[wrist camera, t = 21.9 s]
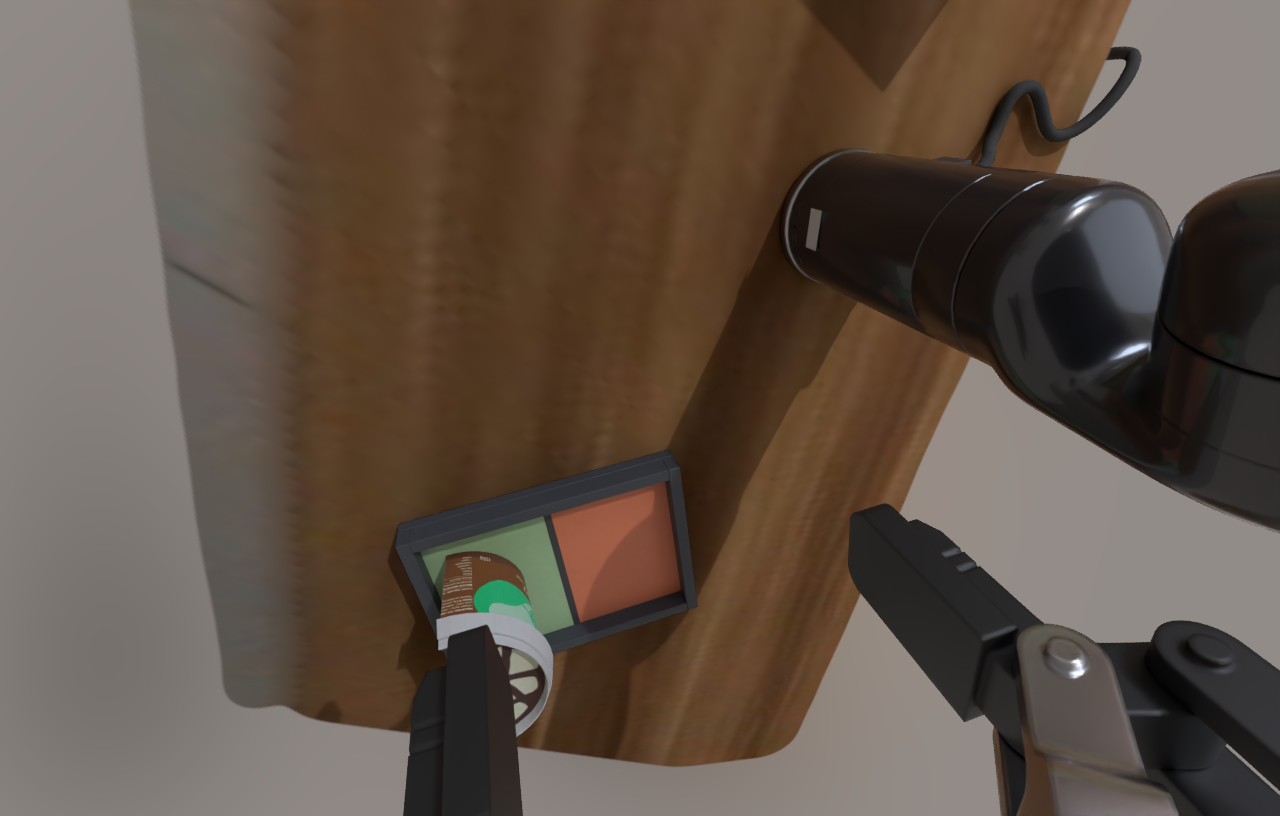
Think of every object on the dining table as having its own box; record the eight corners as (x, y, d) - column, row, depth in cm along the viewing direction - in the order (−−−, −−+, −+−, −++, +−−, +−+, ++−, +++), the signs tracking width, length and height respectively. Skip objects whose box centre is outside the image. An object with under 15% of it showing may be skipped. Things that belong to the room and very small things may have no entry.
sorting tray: (669, 449, 48) (680, 466, 46) (687, 585, 56) (697, 607, 54) (398, 523, 45) (394, 547, 42) (458, 659, 52) (458, 685, 50)
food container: (555, 621, 52) (575, 723, 43) (487, 645, 51) (493, 753, 42) (517, 517, 46) (531, 611, 37) (439, 541, 45) (435, 644, 36)
